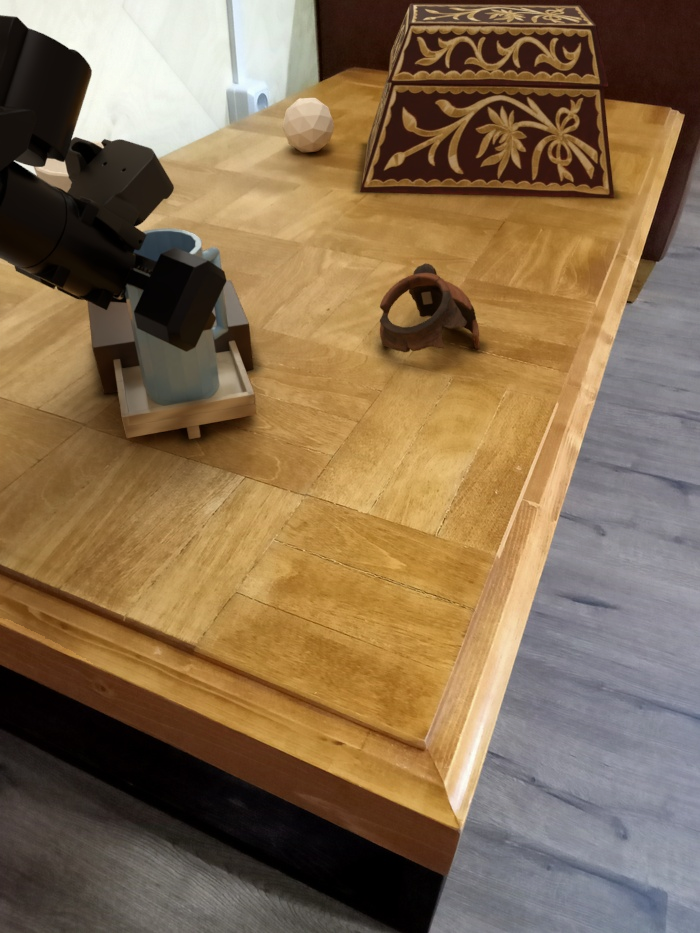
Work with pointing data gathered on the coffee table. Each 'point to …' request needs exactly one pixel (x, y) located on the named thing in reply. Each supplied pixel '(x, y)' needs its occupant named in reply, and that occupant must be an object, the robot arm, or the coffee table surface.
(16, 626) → the coffee table surface
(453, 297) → the brown hollow shell
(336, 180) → the coffee table surface
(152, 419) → the walnut box
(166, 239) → the tall blue mug
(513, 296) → the coffee table surface
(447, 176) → the decorative box
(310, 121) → the geometric ball
